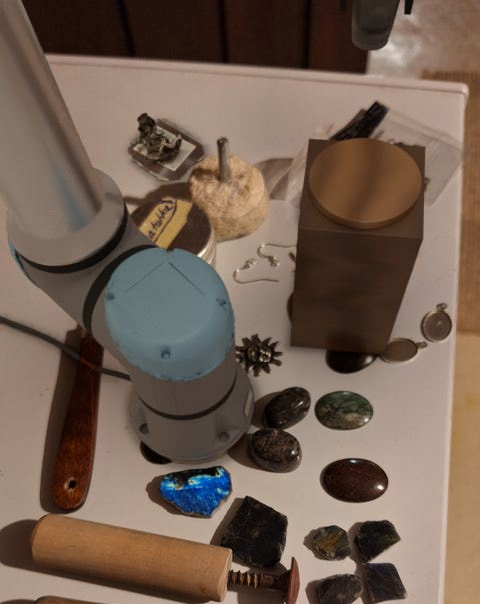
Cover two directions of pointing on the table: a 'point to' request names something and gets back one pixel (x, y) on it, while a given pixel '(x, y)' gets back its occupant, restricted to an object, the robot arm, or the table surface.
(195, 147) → the figurine on square base
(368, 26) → the beverage cup
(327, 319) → the walnut stand
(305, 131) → the table surface
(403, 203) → the cork coaster
